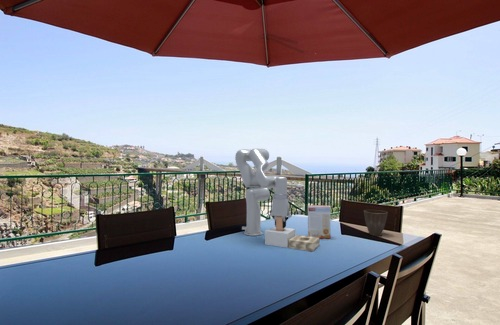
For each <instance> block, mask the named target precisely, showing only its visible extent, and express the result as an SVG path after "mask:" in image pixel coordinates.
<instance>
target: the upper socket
mask: <svg viewBox="0 0 500 325" xmlns="http://www.w3.org/2000/svg"><path fill="white" fill-rule="evenodd" d="M294 236H296V229H295V228H289V227H285V231H276V227H275V226H273V227H271V228H268V229H266V230H264V244H265V245H267V246H272V247H273V246H274V247H281V248H285V249H286V248H288V249H289V240H290V239H291V238H293V237H294Z"/></svg>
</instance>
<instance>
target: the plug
mask: <svg viewBox="0 0 500 325" xmlns="http://www.w3.org/2000/svg"><path fill="white" fill-rule="evenodd" d="M285 228H286V227H285ZM285 228H283V217H282V216H277V217H276V231H285Z"/></svg>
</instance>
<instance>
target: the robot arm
mask: <svg viewBox="0 0 500 325" xmlns="http://www.w3.org/2000/svg"><path fill="white" fill-rule="evenodd" d="M234 157H235V158H234V159H235V160H234V161H235V163H236V166H237V168H238V170H239V172H240V176H241V179H242V182H243V184H244V186H245V187H247V189H246V190H245V193H244V196H245V201H246V226H241V230H242V231H243V230H244V232H243V233H244V235H246V236H251V237H257V236H261V235H263V234H264V233H263V231H262V230H261V205H260V204H259V202H263V201H265V202H266V201H268V200H269V199H270V195H271V194H270V189H274V193H273V194H272V195H271V196H272V197H273V199H272V202H271V211H270V213H269V216H270V217H271V218H272V219H273V221H274V227H276V217H277V216H282V217H283V228H287V227H286V226H287V221H288V220H289V219H290V218H292V214H291V213H290V205H289V199H288V178H287V177H286V176H279V175H265V173H264V171H266V170H267V169H268V167H269V162H268V160H269V158H270V152H269V151H268V150H267V148H266V149H265V148H252V149H248V148H247V149H243V148H242V149H239V150H237V151H236V153H235V156H234ZM248 162H252V164H253V165H254V167H255V173H254V171H253V168H252V166H251V165H250V164H249V163H248Z"/></svg>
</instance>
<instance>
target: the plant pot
mask: <svg viewBox="0 0 500 325" xmlns="http://www.w3.org/2000/svg"><path fill="white" fill-rule="evenodd" d="M363 214H364V215H363V216H364V221H365V226H366V229H367V232H368V234H369V235H370V236H375V237H380V236H382V234H383V231H384V230H385V226H386V223H387V219H388V211H385V210H379V209H378V210H377V209H364V210H363Z"/></svg>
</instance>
